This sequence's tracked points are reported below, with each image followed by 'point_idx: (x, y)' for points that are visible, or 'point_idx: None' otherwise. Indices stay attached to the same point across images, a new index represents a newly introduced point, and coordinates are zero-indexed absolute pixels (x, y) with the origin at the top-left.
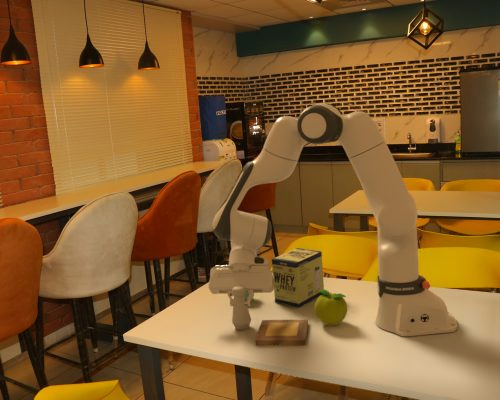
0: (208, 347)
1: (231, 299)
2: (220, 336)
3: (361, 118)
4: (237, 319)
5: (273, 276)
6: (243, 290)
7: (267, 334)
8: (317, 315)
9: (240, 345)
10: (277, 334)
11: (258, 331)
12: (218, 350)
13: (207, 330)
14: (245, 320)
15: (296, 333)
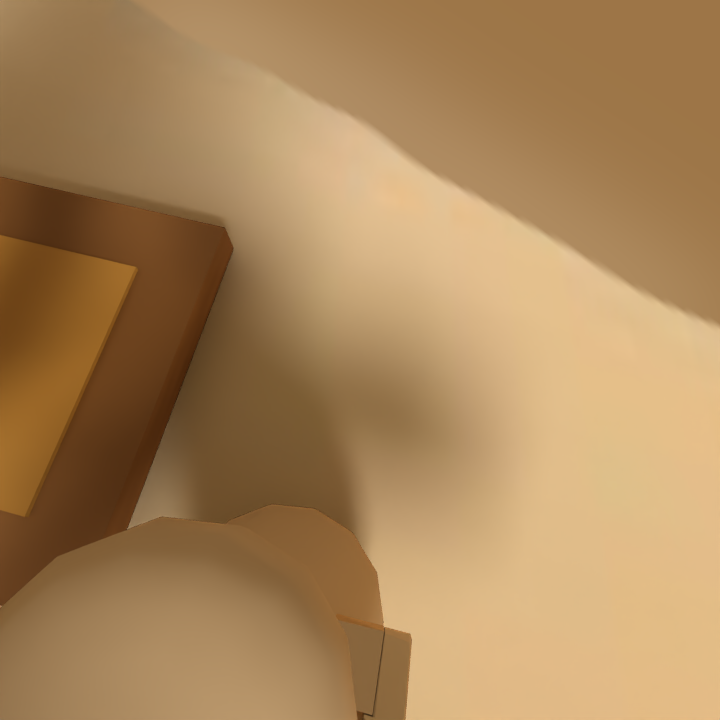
0: (564, 300)
1: (378, 705)
2: (487, 463)
3: None
4: (325, 526)
5: None
6: (41, 576)
7: (112, 282)
8: None
9: (336, 274)
10: (39, 262)
11: (167, 368)
12: (489, 242)
13: (620, 632)
14: (242, 517)
15: None
